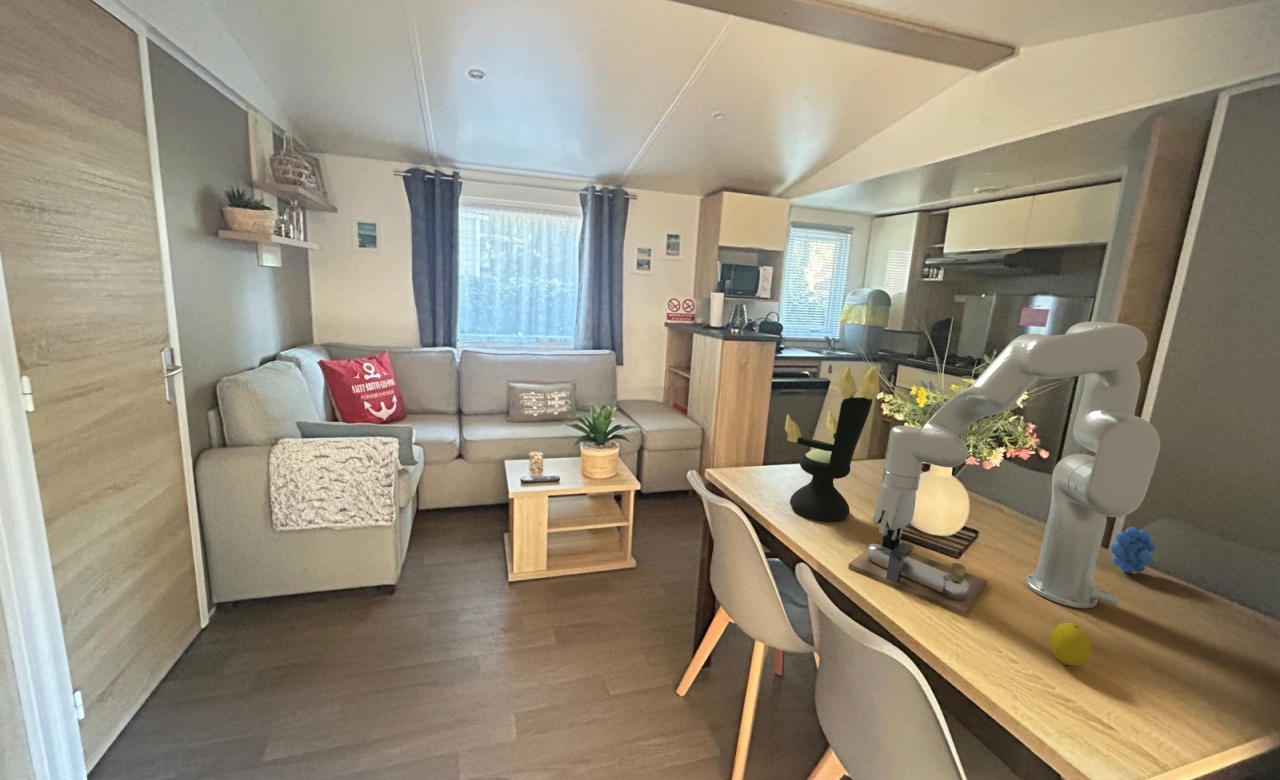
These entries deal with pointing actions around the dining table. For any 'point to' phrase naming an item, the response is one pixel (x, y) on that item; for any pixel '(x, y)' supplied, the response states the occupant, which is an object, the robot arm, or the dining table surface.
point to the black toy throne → (833, 451)
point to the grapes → (1132, 550)
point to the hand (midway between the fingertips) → (889, 552)
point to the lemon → (1070, 644)
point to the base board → (923, 591)
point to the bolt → (922, 573)
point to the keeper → (898, 561)
